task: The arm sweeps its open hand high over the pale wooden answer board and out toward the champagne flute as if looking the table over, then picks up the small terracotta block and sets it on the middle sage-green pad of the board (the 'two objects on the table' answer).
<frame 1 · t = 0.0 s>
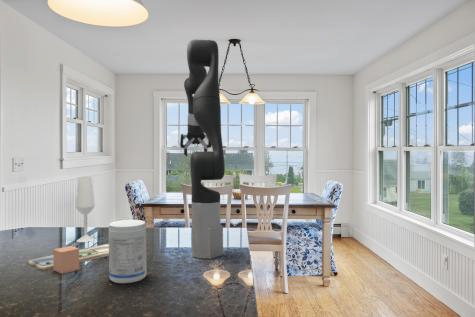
hand: (195, 155, 178), 31 cm above the kitchen island, tool tilted 20°, fingers open, 8 cm apart
supplement tub: (128, 279, 100), on the kitchen island
champagne flute: (85, 240, 145), on the kitchen island
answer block: (66, 270, 108), on the kitchen island
answer board: (79, 256, 121), on the kitchen island
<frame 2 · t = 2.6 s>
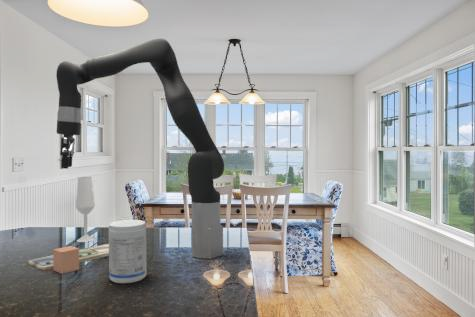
hand: (66, 167, 132), 28 cm above the kitchen island, tool pointing down, fingers open, 8 cm apart
nothing on the kitchen island moved.
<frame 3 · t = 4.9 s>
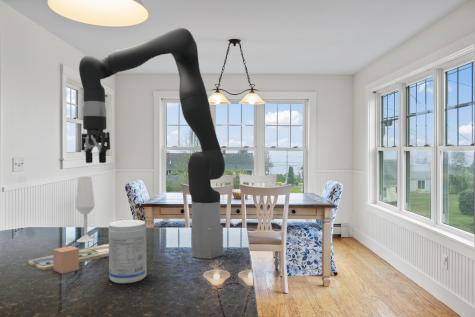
hand: (95, 162, 131), 30 cm above the kitchen island, tool pointing down, fingers open, 8 cm apart
nothing on the kitchen island moved.
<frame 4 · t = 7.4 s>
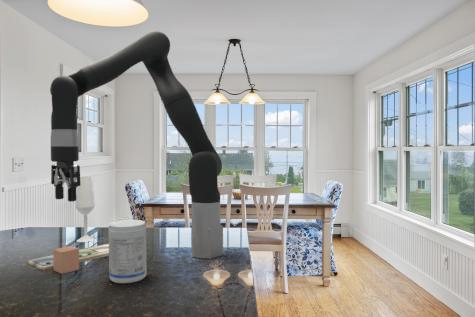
hand: (65, 200, 112), 19 cm above the kitchen island, tool pointing down, fingers open, 8 cm apart
nothing on the kitchen island moved.
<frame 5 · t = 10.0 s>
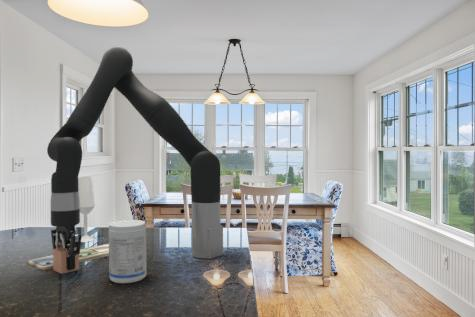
hand: (66, 267, 108), 1 cm above the kitchen island, tool pointing down, fingers closed on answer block, 5 cm apart
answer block: (66, 269, 108), on the kitchen island, touching gripper
everything else where it was.
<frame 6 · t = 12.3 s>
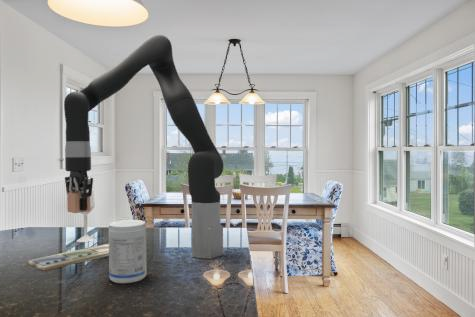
hand: (79, 209, 121), 15 cm above the kitchen island, tool pointing down, fingers closed on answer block, 5 cm apart
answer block: (79, 211, 121), point 15 cm above the kitchen island, touching gripper
everything else where it was.
when the fingers open (3 cm above the kitchen island, at t = 15.0 s): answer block drops 1 cm, resting on answer board.
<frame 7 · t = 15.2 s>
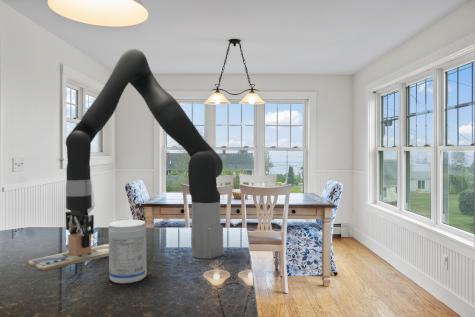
hand: (79, 245, 121), 4 cm above the kitchen island, tool pointing down, fingers open, 7 cm apart
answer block: (79, 253, 121), point 1 cm above the kitchen island, touching answer board
everything else where it was.
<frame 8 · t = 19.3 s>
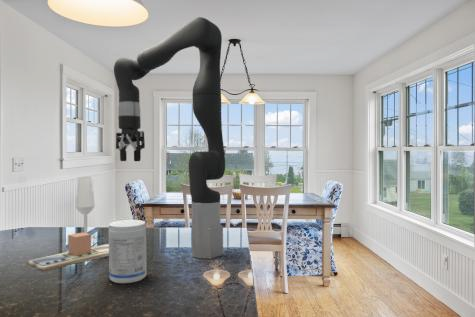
hand: (130, 161, 135), 30 cm above the kitchen island, tool pointing down, fingers open, 8 cm apart
nothing on the kitchen island moved.
at the end: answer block inside the target area on the answer board (0.1 cm from its centre), point 1.1 cm above the answer board's base; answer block tilted 0°; the gripper is holding nothing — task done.
